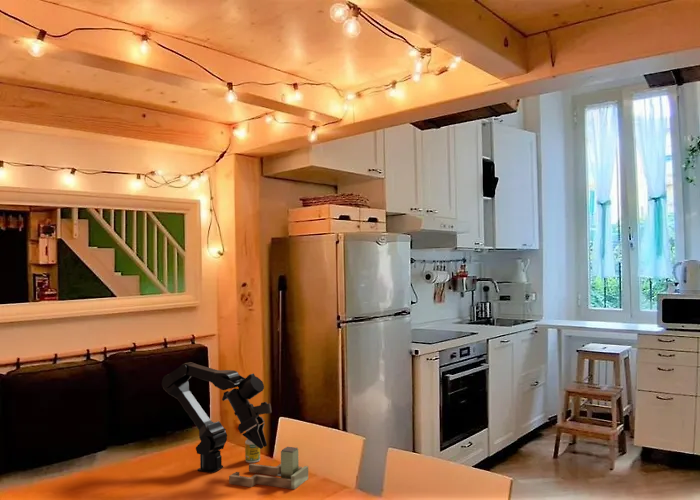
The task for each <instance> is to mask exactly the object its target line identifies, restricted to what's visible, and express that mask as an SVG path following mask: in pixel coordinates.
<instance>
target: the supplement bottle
mask: <svg viewBox="0 0 700 500" xmlns="http://www.w3.org/2000/svg"><path fill="white" fill-rule="evenodd" d="M244 446H245V447H244V453H245V454H244V455H245V456H244V457H245V458H244V459H245V462H246V463H249V464H255V463H257V462H260V460H261V449H260V448H259V447H257V446H256V445H255V444H254V443H252V442H251V441H250V440H249V439H247V438H246V440H245V442H244Z"/></svg>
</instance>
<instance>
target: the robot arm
mask: <svg viewBox="0 0 700 500" xmlns="http://www.w3.org/2000/svg"><path fill="white" fill-rule="evenodd" d="M191 378H196V379H199V380H203V381H205V382H209V383H211V384H213V386H214V387H215V388H218V389H219V390H221V391H224V392H223V395H222V398H221V401H223V402H224V401H229V404H230V406H231V408H232V409H233V411H234V416H236V417H237V418H238V421H239V422H240V423H239V424H238V426H237V430H238V432H239V434H241V435H242V436H243V437H245V438H246V440H247V439H249V440H250V441H251V442H252V443H254V444H255V445H256V446H257V447H259V448H260V450H262V449H263V448H266V447H267V446H268V443H267V440H266V436H265V433H264V427H265V425H266V424H265V422H266V421H265V420H264V418H263V416H261V415H264V414H266V415H267V414H272V413H273V411H272V405H271V403H268V402H267V401H263V402H261V403H260V405H255V406H254V404H253V403H251V402H250V401H249V400H251V399H253V398H254V397H256V396H257V395H258V394H260V393H262V392H263V390H264V388H265V385H264V381H263V380H261V378H259V377H258V376H256V375H255V373H250V374H248V375H247V376H246V377H244V376H242V375H240V374H239V371H237V370H231V369H222V370H218V369H216V368H215V369H214V368H211V367H207V366H204V365H200V364H197V363H194V362H191V361H189V362H185V363H182V364H181V365H179V367H177V368H176V369H174V370H172V371H171V372H170V373H168V374H164V376H163V377H162V378H161V379H162V380H161V387H162V388H163V390H164V392H166V393H167V394H168V395H169V396H171V397H174V398H175V399H177V401H178V402H179V403H180V405H181V406H182V408H183V410H184V411H185V413H187V415H188V416H189V418H190V419H191V421H192V422H193V423H194V425H195V427H197V429H198V436H199V437H198V438H199V440H200V442H199V443H198V444H197V446H195V450H196V454H197V455H200V457H199V459H200V460H199V461H200V465H199V466H200V467H199V468H197V471H198V472H203V473H204V472H205V473H210V474H211V473H212V474H214V473H216V472H217V471H219V470H221V469H222V468H224V465H222V463H223V461H222V455H221V450H224V448H225V444H226V443H227V439H228V435H227V432H226V430H227V429H226V428H224V426H223V425H222V422H220V421H212V420H211V419H210V417H209V416H208V414H207V413H206V412H205V410H204V409H203V408H202V406H201V405H200V403H199V402H198V401H197V399H196V397H195V396H194V395H193V394H192V391H191V390H190V383H189V380H190V379H191ZM226 390H227V391H226Z"/></svg>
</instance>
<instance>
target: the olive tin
mask: <svg viewBox="0 0 700 500" xmlns="http://www.w3.org/2000/svg"><path fill="white" fill-rule="evenodd" d="M280 464H281V476H280V478H285V479H291V476H292V475H293V474H295V473H296V472H297V471H299V467H300V466H299V448H298V447H296V446H295V447H293V446H286V447H284V448H283V449H281V451H280Z"/></svg>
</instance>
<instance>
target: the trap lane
mask: <svg viewBox="0 0 700 500" xmlns="http://www.w3.org/2000/svg"><path fill="white" fill-rule="evenodd" d="M248 472H249V473H254V475H252V476H251V477H250V476H242V475H240V471H235V472H234V473H232V474H230V475H229V476H228V484H229V485H236V486H242V487H248V488H252V487H254V486H256V485H262V486H269V487H275V488H284V489H290V490H296V489H297V488H298V487H300V486H301V485H302V484H303V483H305V482H306V481H307V480H309V466H308V465H304V466H303V467H302V466H299V471H297V472H296V473H295V474H293V475H292V476H291V479H285V478H281V463H280V464H278V465H277V466H271V465H264V464H258V463H256V464H255V463H249V464H248Z"/></svg>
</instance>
